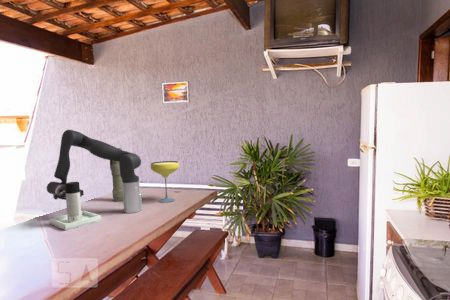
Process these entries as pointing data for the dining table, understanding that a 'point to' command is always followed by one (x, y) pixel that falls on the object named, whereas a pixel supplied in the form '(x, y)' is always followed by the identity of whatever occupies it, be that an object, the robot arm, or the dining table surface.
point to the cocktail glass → (165, 173)
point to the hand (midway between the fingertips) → (72, 196)
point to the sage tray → (86, 220)
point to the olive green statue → (116, 181)
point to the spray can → (73, 201)
